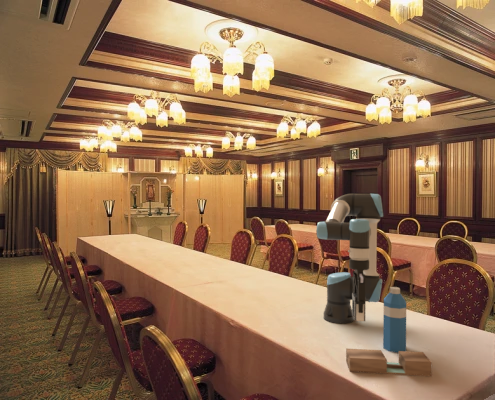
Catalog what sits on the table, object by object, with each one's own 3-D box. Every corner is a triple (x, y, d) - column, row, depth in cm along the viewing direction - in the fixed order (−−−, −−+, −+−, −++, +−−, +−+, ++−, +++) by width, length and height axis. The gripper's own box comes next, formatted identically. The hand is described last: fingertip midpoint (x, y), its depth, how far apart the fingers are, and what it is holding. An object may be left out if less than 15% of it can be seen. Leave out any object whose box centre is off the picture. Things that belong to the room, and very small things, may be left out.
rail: (346, 361, 138) (346, 348, 138) (422, 365, 135) (423, 352, 135) (349, 371, 130) (349, 357, 130) (431, 376, 127) (431, 362, 127)
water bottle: (400, 343, 155) (400, 285, 155) (410, 352, 146) (411, 291, 146) (378, 343, 155) (379, 285, 155) (388, 353, 146) (388, 291, 145)
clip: (352, 315, 145) (352, 293, 145) (362, 315, 144) (362, 293, 144) (354, 320, 139) (354, 297, 139) (365, 321, 138) (365, 297, 138)
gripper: (346, 254, 152) (345, 309, 152) (352, 262, 132) (352, 325, 132) (364, 255, 151) (364, 310, 151) (374, 263, 131) (373, 326, 131)
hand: (358, 317), depth 141 cm, fingers closed on clip, 6 cm apart
